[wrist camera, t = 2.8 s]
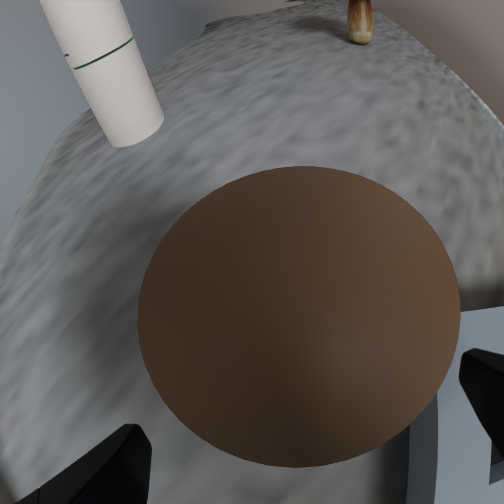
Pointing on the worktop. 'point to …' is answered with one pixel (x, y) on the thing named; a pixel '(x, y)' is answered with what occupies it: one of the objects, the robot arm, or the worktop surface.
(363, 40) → the decorative mushroom
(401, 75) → the worktop surface
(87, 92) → the cylindrical container
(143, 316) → the tall walnut pin
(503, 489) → the sleeve block
